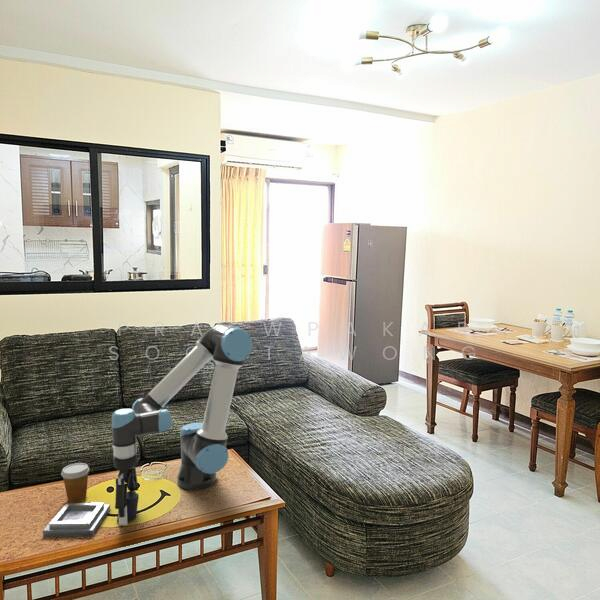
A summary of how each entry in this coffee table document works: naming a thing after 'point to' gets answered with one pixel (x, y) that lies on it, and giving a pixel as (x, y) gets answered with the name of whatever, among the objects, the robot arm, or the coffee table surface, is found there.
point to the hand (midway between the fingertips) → (127, 516)
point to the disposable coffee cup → (75, 481)
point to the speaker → (131, 505)
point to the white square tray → (77, 519)
